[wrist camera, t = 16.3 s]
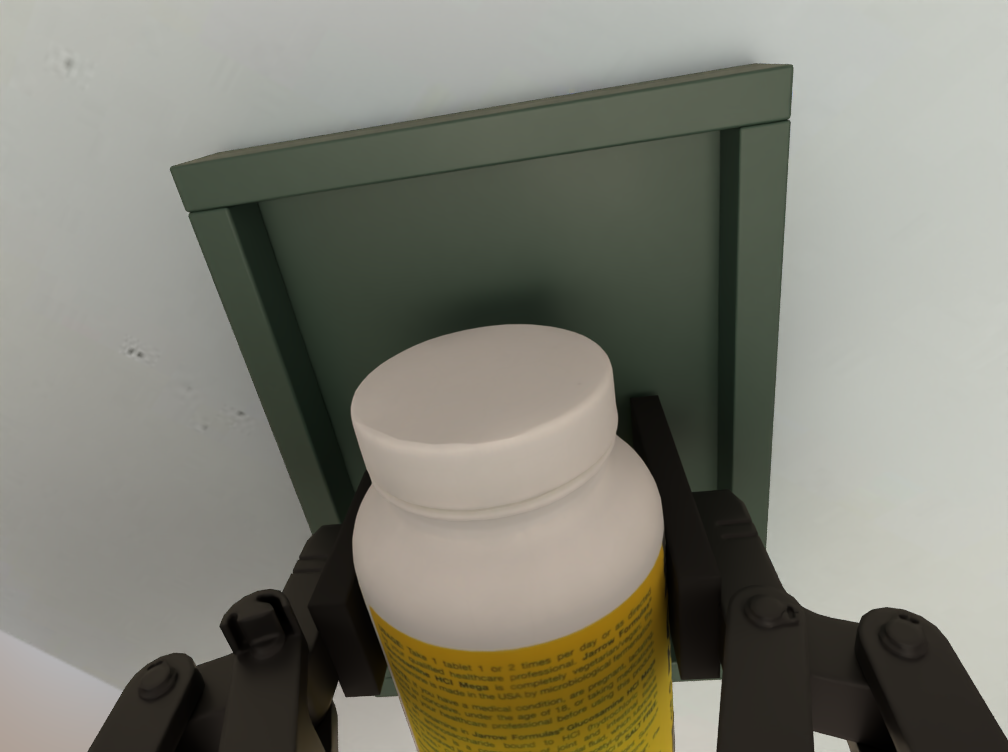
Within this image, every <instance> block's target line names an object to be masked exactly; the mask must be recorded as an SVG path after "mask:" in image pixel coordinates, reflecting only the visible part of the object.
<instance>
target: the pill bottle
mask: <svg viewBox="0 0 1008 752" xmlns="http://www.w3.org/2000/svg"><path fill="white" fill-rule="evenodd" d="M351 418H352V423H353V427H354V430H355V434H356V437H357V440H358V444H359V447H360V450H361V453H362V456H363V459H364V463H365V466H366V469H367V471H368V473H369V475H370V478H371V481H372V484H371V486H370V487H369V489H368V491H367V493H366V494H365V496H364V498H363V500H362V503H361V505H360V508H359V510H358V513H357V516H356V521H355V525H354V531H353V539H352V545H353V562H354V567H355V571H356V575H357V579H358V583H359V586H360V589H361V592H362V595H363V598H364V601H365V604H366V607H367V609H368V612H369V615H370V618H371V621H372V623H373V626H374V629H375V632H376V634H377V637H378V640H379V643H380V645H381V648H382V651H383V654H384V656H385V659H386V662H387V665H388V668H389V671H390V673H391V676H392V679H393V682H394V685H395V688H396V690H397V693H398V696H399V699H400V702H401V705H402V708H403V711H404V714H405V717H406V719H407V722H408V725H409V728H410V731H411V734H412V737H413V739H414V742H415V745H416V748H417V751H418V752H675V735H674V711H673V691H672V671H671V639H670V624H669V604H668V597H669V596H668V588H667V574H668V571H667V565H666V541H665V528H664V519H663V511H662V504H661V497H660V494H659V491H658V488H657V485H656V483H655V480H654V478H653V476H652V475H651V473H650V471H649V469H648V468H647V466H646V465H645V463H644V462H643V460H642V459H641V458H640V456H639V455H638V454H637V453H636V452H635V451H634V449H633V448H631V447H630V446H629V445H628V444H627V443H626V442H625V441H623V440H622V439H621V438H620V437H618V436H617V435H616V430H617V425H618V413H617V408H616V400H615V389H614V379H613V370H612V366H611V363H610V360H609V358H608V356H607V354H606V353H605V351H604V350H603V349H602V348H601V347H600V346H599V345H598V344H596V343H595V342H594V341H592V340H591V339H589V338H587V337H585V336H583V335H581V334H578V333H575V332H572V331H569V330H565V329H561V328H556V327H551V326H542V325H532V324H505V325H494V326H486V327H479V328H474V329H468V330H463V331H459V332H455V333H451V334H447V335H443V336H439V337H436V338H433V339H430V340H427V341H425V342H422V343H420V344H417V345H415V346H413V347H411V348H409V349H407V350H404V351H402V352H401V353H399V354H397V355H395V356H394V357H392V358H390V359H388V360H387V361H385V362H384V363H382V364H381V365H379V366H378V367H377V368H376V369H374V370H373V371H372V372H371V373H370V374H369V375H368V376H367V377H366V378H365V379H364V380H363V381H362V383H361V384H360V385H359V387H358V388H357V390H356V391H355V394H354V397H353V399H352V404H351Z"/></svg>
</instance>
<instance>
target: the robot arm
mask: <svg viewBox="0 0 1008 752" xmlns="http://www.w3.org/2000/svg"><path fill="white" fill-rule="evenodd" d="M630 405H631V420H632V435H633V449H634V451H635V452H636V453H637V454H638V455H639V456H640V458H641V459H642V460H643V462H644V463H645V465H646V466H647V468H648V469H649V471H650V473H651V475H652V476H653V478H654V480H655V483H656V485H657V488H658V491H659V494H660V497H661V504H662V511H663V519H664V528H665V541H666V565H667V571H668V574H667V588H668V596H669V597H668V604H669V624H670V634H671V638H672V643H673V647H674V652H675V656H676V660H677V665H678V669H679V674H680V678H681V680H693V679H714V678H720V663H721V667H722V670H723V673H722V686H721V700H720V713H719V726H718V739H717V752H814V738H813V731H815V732H819V733H822V734H826V735H830V736H834V737H837V738H841V739H845V740H847V742H848V745H849V748H850V751H851V752H1008V740H1007V738H1006V736H1005V735H1004V733H1003V731H1002V730H1001V728H1000V726H999V725H998V723H997V721H996V720H995V718H994V716H993V715H992V713H991V711H990V710H989V708H988V706H987V705H986V703H985V701H984V700H983V698H982V696H981V695H980V693H979V691H978V690H977V688H976V686H975V685H974V683H973V681H972V680H971V678H970V676H969V675H968V673H967V671H966V670H965V668H964V666H963V665H962V663H961V661H960V660H959V658H958V656H957V655H956V653H955V651H954V650H953V648H952V646H951V645H950V643H949V641H948V640H947V638H946V637H945V636H944V635H943V634H942V633H941V631H940V630H939V629H938V628H937V627H936V626H935V625H933V624H932V623H930V622H929V621H927V620H926V619H924V618H923V617H921V616H919V615H916V614H914V613H911V612H909V611H906V610H903V609H896V608H888V607H885V608H879V609H873V610H871V611H869V612H868V613H866V614H865V615H863V616H862V617H861V620H860V622H859V623H856V622H851V621H846V620H841V619H835V618H830V617H827V616H823V615H819V614H816V613H814V612H812V611H810V610H808V609H805V608H804V607H802V606H801V605H800V604H799V603H798V602H797V600H796V599H795V598H794V597H792V596H791V595H789V594H788V593H787V592H786V591H785V589H784V588H783V586H782V584H781V582H780V580H779V578H778V575H777V573H776V571H775V569H774V567H773V564H772V562H771V560H770V558H769V556H768V554H767V551H766V549H765V547H764V545H763V543H762V540H761V538H760V536H758V532H757V529H756V527H755V525H754V523H752V519H751V516H750V514H749V512H748V510H747V508H746V505H745V503H744V502H743V501H742V500H741V499H739V498H738V497H737V496H736V495H735V494H734V493H732V492H731V491H730V490H729V489H723V490H711V491H699V492H692V491H691V488H690V486H689V483H688V480H687V477H686V474H685V471H684V468H683V465H682V462H681V460H680V457H679V454H678V451H677V448H676V445H675V442H674V439H673V437H672V434H671V431H670V428H669V425H668V422H667V419H666V416H665V414H664V411H663V408H662V405H661V402H660V399H659V396H658V395H654V396H644V397H635V398H630ZM371 484H372V481H371V478H370V475H369V473H368V471H367V469H366V470H365V472H364V474H363V477H362V479H361V481H360V484H359V486H358V488H357V491H356V493H355V495H354V498H353V500H352V502H351V505H350V507H349V509H348V512H347V514H346V517H345V519H344V521H343V524H332V525H322V526H321V527H320V528H319V529H318V530H317V531H316V532H315V533H314V534H313V535H312V536H311V537H310V538H309V539H308V540H307V542H306V544H305V546H304V548H303V550H302V552H301V554H300V556H299V560H298V561H297V563H296V565H295V567H294V569H293V574H291V575H290V577H289V579H288V581H287V583H286V585H285V587H284V590H283V592H281V591H279V590H273V589H267V590H261V591H257V592H254V593H252V594H250V595H247V596H245V597H243V598H242V599H241V600H239V601H238V602H237V603H235V604H234V605H233V606H232V607H231V608H230V609H229V610H228V611H227V612H226V614H225V615H224V616H223V619H222V621H221V623H220V626H219V627H220V628H221V630H222V632H223V634H224V636H225V638H226V640H227V642H228V644H229V645H230V647H231V649H232V651H233V653H231V654H229V655H227V656H224V657H221V658H218V659H215V660H212V661H209V662H206V663H203V664H200V665H197V666H196V664H195V663H194V661H193V659H192V658H191V657H189V656H188V655H186V654H184V653H172V654H169V655H165V656H161V657H159V658H158V659H156V660H154V661H152V662H150V663H149V664H147V665H146V666H145V667H143V668H142V669H141V670H140V671H139V672H137V673H136V674H135V675H134V677H133V678H132V679H131V680H130V682H129V683H128V684H127V686H126V687H125V689H124V690H123V692H122V694H121V696H120V697H119V699H118V701H117V702H116V704H115V706H114V708H113V709H112V711H111V713H110V714H109V716H108V718H107V720H106V721H105V723H104V725H103V726H102V728H101V730H100V731H99V733H98V735H97V736H96V738H95V740H94V742H93V743H92V745H91V747H90V748H89V750H88V752H338V715H337V711H336V707H335V704H334V702H333V700H332V699H333V696H334V693H335V690H336V687H337V683H338V680H339V682H340V685H341V687H342V689H343V692H344V694H345V697H358V696H377V695H380V694H381V690H382V686H383V682H384V678H385V674H386V670H387V666H388V665H387V662H386V659H385V656H384V654H383V651H382V648H381V645H380V643H379V640H378V637H377V634H376V632H375V629H374V626H373V623H372V621H371V618H370V615H369V612H368V609H367V607H366V604H365V601H364V598H363V595H362V592H361V589H360V586H359V583H358V579H357V575H356V571H355V567H354V562H353V545H352V539H353V531H354V525H355V521H356V516H357V513H358V510H359V508H360V505H361V503H362V500H363V498H364V496H365V494H366V493H367V491H368V489H369V487H370V486H371Z"/></svg>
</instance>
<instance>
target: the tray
mask: <svg viewBox="0 0 1008 752" xmlns="http://www.w3.org/2000/svg"><path fill="white" fill-rule="evenodd" d="M792 83H793V65H790V64H757V63H755V64H749V65H743V66H737V67H731V68H725V69H719V70H712V71H706V72H700V73H694V74H688V75H682V76H676V77H670V78H664V79H658V80H652V81H646V82H640V83H634V84H628V85H622V86H616V87H610V88H604V89H598V90H592V91H586V92H580V93H574V94H568V95H562V96H556V97H550V98H544V99H538V100H532V101H526V102H520V103H514V104H508V105H502V106H496V107H490V108H484V109H478V110H472V111H466V112H460V113H454V114H448V115H442V116H436V117H430V118H424V119H418V120H412V121H406V122H400V123H394V124H388V125H382V126H376V127H369V128H363V129H357V130H351V131H345V132H339V133H333V134H327V135H321V136H315V137H309V138H303V139H297V140H291V141H285V142H279V143H273V144H267V145H261V146H255V147H249V148H243V149H237V150H231V151H225V152H219V153H215V154H212V155H209V156H205V157H202V158H199V159H195V160H192V161H188V162H185V163H181V164H178V165H175V166H172V167H171V168H170V171H171V174H172V176H173V179H174V181H175V184H176V187H177V189H178V192H179V194H180V197H181V199H182V202H183V205H184V207H185V210H186V211H187V212H190V213H189V219H190V222H191V224H192V227H193V229H194V232H195V235H196V237H197V240H198V242H199V245H200V247H201V250H202V253H203V255H204V258H205V260H206V263H207V265H208V268H209V270H210V273H211V276H212V278H213V281H214V283H215V286H216V288H217V291H218V294H219V296H220V299H221V301H222V304H223V306H224V309H225V312H226V314H227V317H228V319H229V322H230V324H231V327H232V329H233V332H234V335H235V337H236V340H237V342H238V345H239V347H240V350H241V353H242V355H243V358H244V360H245V363H246V365H247V368H248V371H249V373H250V376H251V378H252V381H253V383H254V386H255V388H256V391H257V394H258V396H259V399H260V401H261V404H262V406H263V409H264V412H265V414H266V417H267V419H268V422H269V424H270V427H271V429H272V432H273V435H274V437H275V440H276V442H277V445H278V447H279V450H280V453H281V455H282V458H283V460H284V463H285V465H286V468H287V471H288V473H289V476H290V478H291V481H292V483H293V486H294V488H295V491H296V494H297V496H298V499H299V501H300V504H301V506H302V509H303V512H304V514H305V517H306V519H307V522H308V524H309V527H310V530H311V532H312V535H313V534H314V533H315V532H316V531H317V530H318V529H319V528H320V527H321V526H322V525H332V524H343V521H344V519H345V517H346V514H347V512H348V509H349V507H350V505H351V502H352V500H353V498H354V495H355V493H356V491H357V488H358V486H359V484H360V481H361V479H362V477H363V474H364V472H365V470H366V466H365V463H364V459H363V456H362V453H361V450H360V447H359V444H358V440H357V437H356V434H355V430H354V427H353V423H352V418H351V404H352V399H353V397H354V394H355V391H356V390H357V388H358V387H359V385H360V384H361V383H362V381H363V380H364V379H365V378H366V377H367V376H368V375H369V374H370V373H371V372H372V371H373V370H374V369H376V368H377V367H378V366H379V365H381V364H382V363H384V362H385V361H387V360H388V359H390V358H392V357H394V356H395V355H397V354H399V353H401V352H402V351H404V350H407V349H409V348H411V347H413V346H415V345H417V344H420V343H422V342H425V341H427V340H430V339H433V338H436V337H439V336H443V335H447V334H451V333H455V332H459V331H463V330H468V329H474V328H479V327H486V326H494V325H505V324H532V325H542V326H551V327H556V328H561V329H565V330H569V331H572V332H575V333H578V334H581V335H583V336H585V337H587V338H589V339H591V340H592V341H594V342H595V343H596V344H598V345H599V346H600V347H601V348H602V349H603V350H604V351H605V353H606V354H607V356H608V358H609V360H610V363H611V366H612V370H613V379H614V389H615V400H616V408H617V413H618V425H617V430H616V435H617V436H618V437H620V438H621V439H622V440H623V441H625V442H626V443H627V444H628V445H629V446H630V447H631V448H633V435H632V420H631V405H630V398H635V397H644V396H654V395H658V396H659V399H660V402H661V405H662V408H663V411H664V414H665V416H666V419H667V422H668V425H669V428H670V431H671V434H672V437H673V439H674V442H675V445H676V448H677V451H678V454H679V457H680V460H681V462H682V465H683V468H684V471H685V474H686V477H687V480H688V483H689V486H690V488H691V491H692V492H699V491H711V490H723V489H729V490H730V491H731V492H732V493H734V494H735V495H736V496H737V497H738V498H739V499H741V500H742V501H743V502H744V503H745V505H746V508H747V510H748V512H749V514H750V516H751V519H752V523H754V525H755V527H756V529H757V532H758V536H760V538H761V540H762V543H763V545H764V547H765V549H766V540H767V522H768V505H769V488H770V470H771V453H772V436H773V418H774V401H775V383H776V366H777V349H778V331H779V314H780V297H781V279H782V262H783V245H784V227H785V210H786V193H787V175H788V158H789V141H790V123H791V122H790V120H788V119H789V118H790V116H791V100H792ZM670 639H671V671H672V682H682V681H701V680H721V679H722V673H723V670H722V667H721V663H720V678H714V679H693V680H681V678H680V674H679V669H678V665H677V660H676V656H675V652H674V647H673V643H672V638H671V634H670ZM389 696H398V693H397V690H396V688H395V685H394V682H393V679H392V676H391V673H390V671H389V668H388V666H387V670H386V674H385V678H384V682H383V686H382V690H381V694H380V695H377V696H376V697H389Z"/></svg>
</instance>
